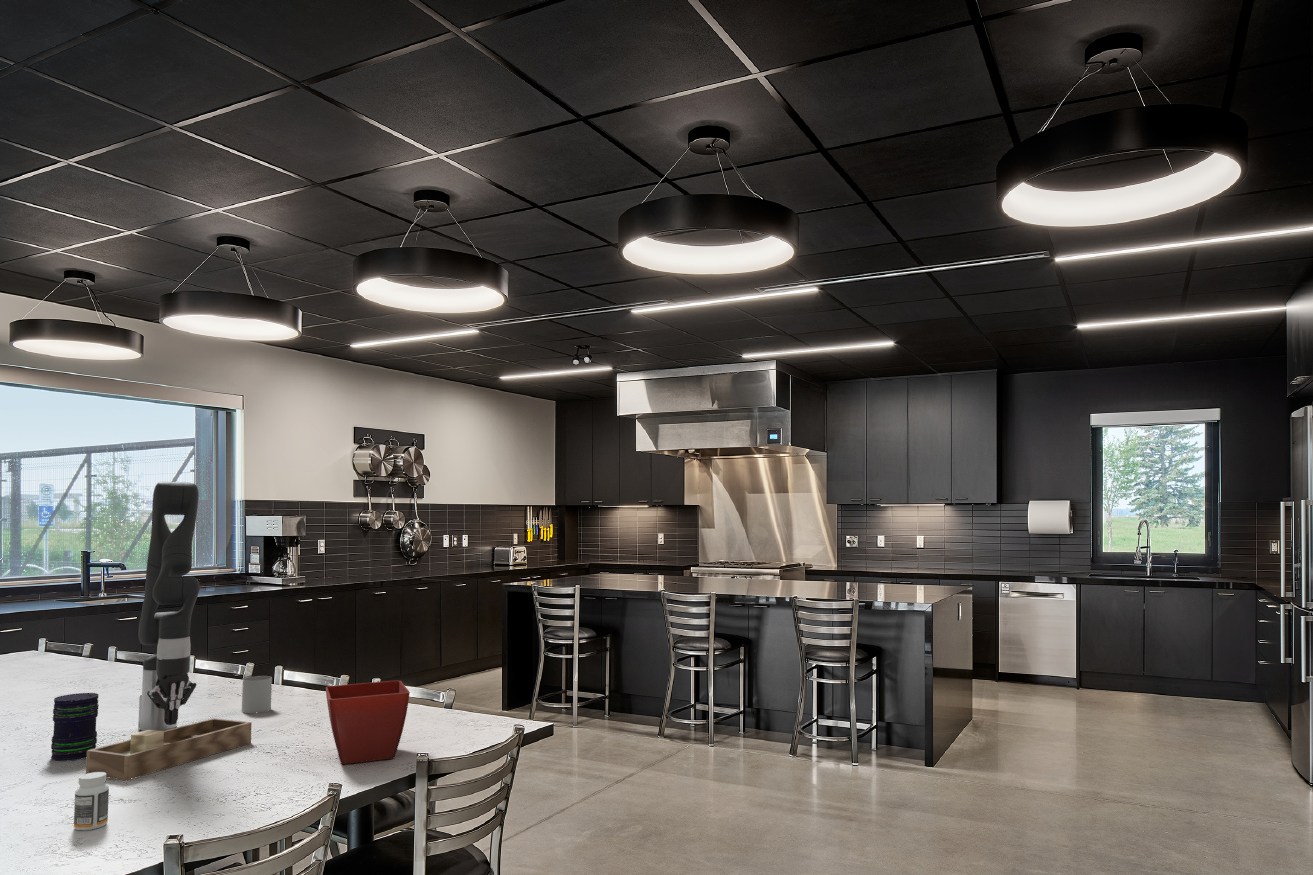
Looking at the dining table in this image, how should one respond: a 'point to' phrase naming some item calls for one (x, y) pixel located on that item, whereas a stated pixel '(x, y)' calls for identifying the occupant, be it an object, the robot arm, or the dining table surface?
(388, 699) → the plant pot
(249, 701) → the cup
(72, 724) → the storage jar
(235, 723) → the long open wooden box
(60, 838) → the dining table surface
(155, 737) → the maple block
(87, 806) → the pill bottle
